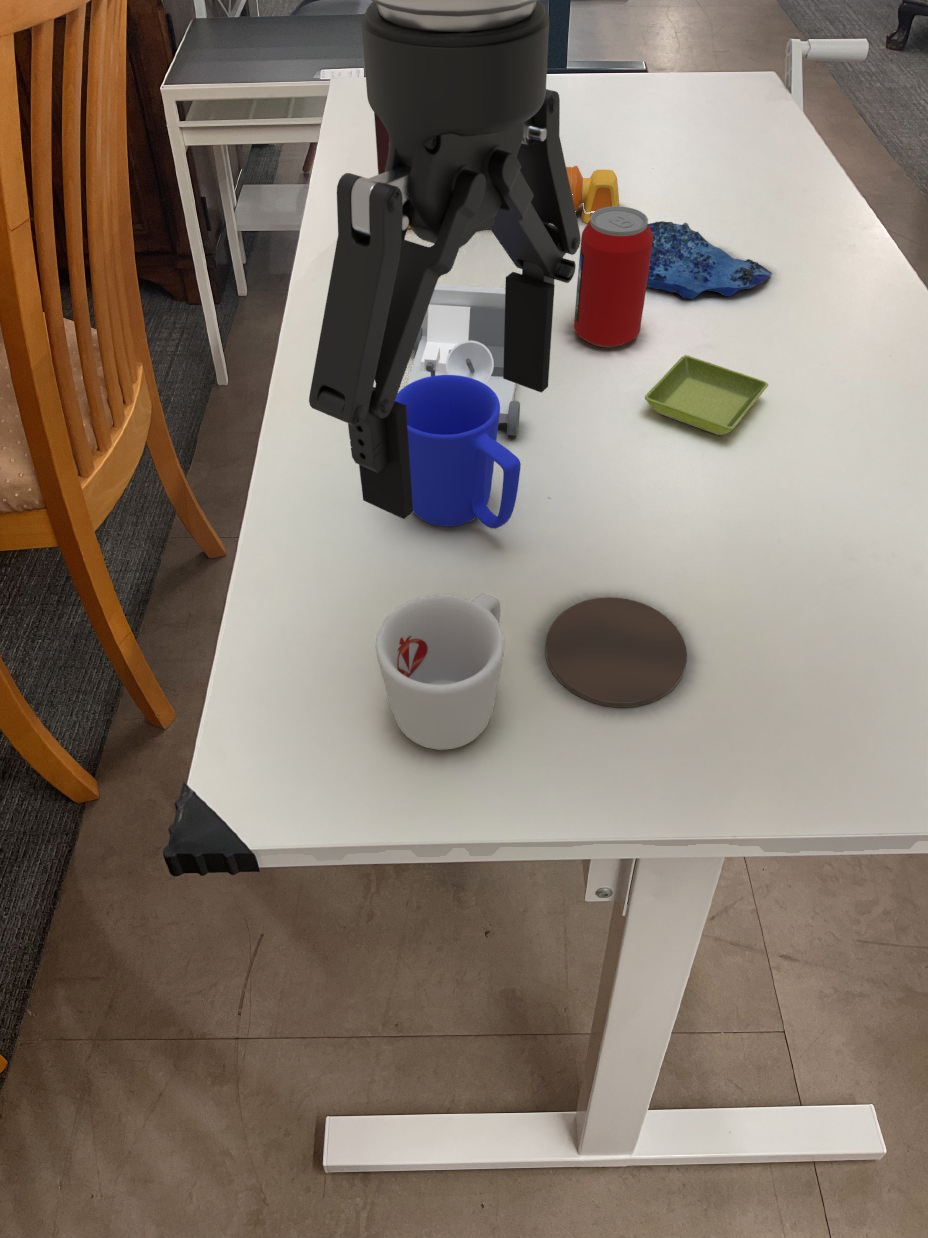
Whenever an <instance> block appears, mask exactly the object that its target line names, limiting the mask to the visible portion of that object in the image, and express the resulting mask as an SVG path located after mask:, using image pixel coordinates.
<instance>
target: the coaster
mask: <svg viewBox="0 0 928 1238" xmlns="http://www.w3.org/2000/svg"><path fill="white" fill-rule="evenodd" d="M545 639H546V640H545V657H546V661H547V664H548V666H549V669H550V671H551V672H552V674H553V676H554V677H555V678H556V680H557V681H558V682H559V683H560V684H561V685H562V686H563V687H565V689H567V690H568V691H569V692H570V693H573V694H574V695H575V696H577V697H579V698H580V699H583V700H584V701H585V700H586V701H588V702H591V703H593V704H597V705H601V706H605V707H612V708H634V707H635V708H636V707H641V706H644V705H648V704H651V703H653V702H656V701H658V700H660V699H662V698H664V697H665V696H666V695H668V694H669V693H670V692H672V691H673V690H674V689H675V688H676V687H677V685H678V684H679V682H680V681H681V679H682V677H683V675H684V673H685V670H686V665H687V662H688V661H687V660H688V659H687V658H688V654H687V653H688V652H687V646H686V643H685V640H684V638H683V636H682V634H681V632H680V631H679V629H678V627H677V626H676V625H675V624H674V623H673V621H671V620H670V618H668V617H667V616H666V615H664V613H662V612H660V611H659V610H657V609H655V608H654V607H652V606H650V605H648V604H646V603H643V602H639V601H637V600H632V599H628V598H623V597H613V596H612V597H610V596H609V597H608V596H607V597H596V598H591V599H587V600H583V601H580V602H578V603H575V604H574V605H571V606H570V607H568V608H567V609H565V610H563V612H561V613H560V614H559V615H558V616H557V617H556V618H555V619H554V621H553V622H552V624H551V625H550V626H549V628H548V632H547V634H546V638H545Z"/></svg>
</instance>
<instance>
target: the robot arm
mask: <svg viewBox="0 0 928 1238" xmlns="http://www.w3.org/2000/svg"><path fill="white" fill-rule="evenodd" d="M360 23H361V35H362V47H363V59H364V60H363V61H364V70H365V71H364V72H365V73H364V74H365V83H366V84H365V85H366V86H365V87H366V96H367V102H368V104H369V107H370V108H371V110H372V111H373V114H374V113H375V114H376V115H377V116H378V117H379V119H380V120H381V122H382V123H383V125H384V126H385V128H386V130H387V132H388V135H389V153H388V159H387V164H386V168H385V172H384V173H382V174H379V175H378V174H376V175H373V176H371V177H364V176H361V175H357V174H354V173H350V172H345V173H344V174H343V175H341V177H340V178H339V180H338V182H337V186H336V213H337V238H336V239H337V240H336V244H335V251H334V255H333V260H332V267H331V272H330V277H329V284H328V290H327V296H326V300H325V307H324V312H323V317H322V321H321V322H322V323H321V329H320V334H319V339H318V346H317V350H316V357H315V362H314V368H313V374H312V377H311V384H310V389H309V395H308V403H309V407H311V409H313V410H316V411H318V412H320V413H323V414H325V415H328V416H330V417H332V418H334V419H336V420H339V421H342V422H344V423H346V424H347V428H348V436H349V444H350V452H351V458H352V459H353V462H354V463H355V464H356V465H358V467H359V468H358V470H359V476H360V484H361V494H362V501H363V502H366V503H367V504H370V505H371V506H374V507H376V508H379V509H381V510H383V511H385V512H387V513H390V514H392V515H393V516H396V517H398V518H400V519H402V520H406V519H407V518H408V517H409V516H410V515H411V514H412V513H414V512H413V503H412V488H411V473H410V457H409V442H408V427H407V412H406V405H404V404H401V403H399V402H396V401H395V399H396V396H397V393H399V391H400V387H401V385H402V382H403V379H404V376H405V374H406V370H407V367H408V365H409V362H410V359H411V356H412V353H413V352H414V350H413V348H414V345H415V343H416V340H417V337H418V334H419V331H420V328H421V326H422V323H423V320H424V317H425V314H426V312H427V309H428V306H429V303H430V300H431V298H432V295H433V292H434V289H435V286H436V284H438V281H439V278H441V277H442V276H444V275H447V274H449V273H450V271H452V269H453V267H454V264H455V261H456V259H457V256H458V253H459V251H460V248H462V247H463V246H465V245H466V244H467V243H469V242H470V240H471V239H472V238H473V236H475V235H476V233H479V232H483V231H486V230H490V231H491V232H492V234H493V235H494V237H495V238H496V240H497V241H498V243H499V244H500V245H501V247H502V249H503V250H504V251H505V252H506V254H507V255H508V257H509V258H510V260H511V261H512V263H513V264H514V265H515V267H516V268H517V269H520V270H521V273H519V272H516V271H515V272H514V271H512V272H511V273H509V274H508V275H507V276H505V284H504V285H505V287H504V288H505V327H504V369H503V379H506V380H508V381H511V382H514V383H516V385H519V386H522V387H525V388H528V389H530V390H533V391H535V392H538V393H541V394H542V393H543V392H544V391H545V390H546V389H547V388H549V379H550V378H549V377H550V363H551V349H552V347H551V346H552V332H553V318H554V316H553V315H554V303H555V302H554V301H555V300H554V299H555V298H554V297H555V285H556V284H555V280H556V281H557V282H562V283H564V284H568V283H570V282H571V281H572V280H573V278H574V276H575V272H576V269H577V268H576V265H577V264H576V261H574V260H571V259H567V258H564V257H565V255H566V254H568V255H571V256H573V255H575V254H576V253H577V251H578V249H580V246H581V232H580V227H579V222H578V218H577V211H576V212H575V207H574V203H573V198H572V193H571V189H570V184H569V179H568V174H567V170H566V167H567V165H566V160H565V156H564V151H563V145H562V141H561V135H560V121H561V119H560V118H561V117H560V112H561V111H560V109H561V108H560V107H561V105H560V102H561V101H560V100H561V99H560V94H559V92H558V91H556V90H553V89H547V77H548V76H547V75H548V74H547V73H548V58H549V57H548V55H549V35H550V34H549V31H550V14H549V12H548V11H547V10H546V9H545V6H544V5H543V3H542V2H541V1H540V0H371V2H370V4H369V5H368V7H367V8H366V10H365V12H364V13H363V15H362V16H361V22H360ZM408 226H410V227H411V228H412V229H411V230H412V231H413V233H414V235H416V236H417V238H419V239H420V240H422V241H424V242H428V243H431V244H432V245H431V246H425V245H423V244H419V243H417V242H413V241H410V240H406V239H405V238H406V235H407V232H408ZM488 228H490V229H488ZM374 385H375V386H374Z"/></svg>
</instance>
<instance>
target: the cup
mask: <svg viewBox="0 0 928 1238" xmlns="http://www.w3.org/2000/svg"><path fill="white" fill-rule="evenodd" d="M501 613H502V607H501V602H500V600H499V598H498V597H496V596H495V595H492V594H490V593H488V592H487V593H486V592H480V593H478V594H476V595H475V596H474V597H473V598H471V599H469V598H466V597H464V596H461V595H460V596H459V595H454V594H429V595H424V596H419V597H416V598H414V599H410V600H409V601H406V602H404V603H402V604H400V605H399V606H398V607H396V608H395V609H393V610H392V611H391V612H390V613H389V614H388V615H387V616H386V617H385V619H384V620H383V622H382V623H381V625H380V627H379V630H378V631H377V634H376V639H375V653H376V659H377V662H378V665H379V670H380V673H381V677H382V680H383V684H384V688H385V691H386V694H387V698H388V701H389V705H390V709H391V712H392V715H393V718H394V720H395V722H396V725H397V726H398V728H399V729H400V731H401V732H402V733H403V734H404V735H405V736H406V737H407V738H408V739H409V740H411V741H412V742H413V743H415V744H417V745H419V746H421V747H424V748H427V749H432V750H439V751H444V750H453V749H457V748H461V747H464V746H465V745H468V744H470V743H472V742H473V741H475V740H476V739H477V738H478V737H479V736H480V735H481V734H482V733H483V731H484V730H485V729H486V728H487V726H488V724H489V723H490V720H491V717H492V714H493V712H494V707H495V701H496V698H497V697H496V696H497V691H498V686H499V682H500V681H499V680H500V676H501V671H502V665H503V660H504V654H505V649H506V648H505V645H506V644H505V641H506V640H505V636H504V631H503V628H502V626H501V624H500V621H501Z"/></svg>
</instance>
